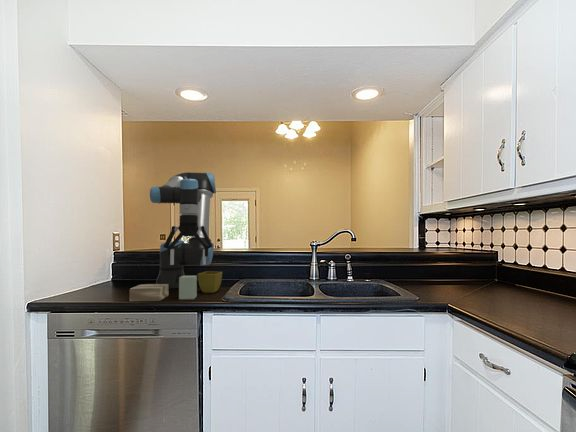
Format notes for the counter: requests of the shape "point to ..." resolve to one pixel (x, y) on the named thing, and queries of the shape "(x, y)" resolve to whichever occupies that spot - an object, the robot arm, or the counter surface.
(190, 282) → the sage block
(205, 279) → the flower pot
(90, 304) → the counter surface
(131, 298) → the base block
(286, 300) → the counter surface
